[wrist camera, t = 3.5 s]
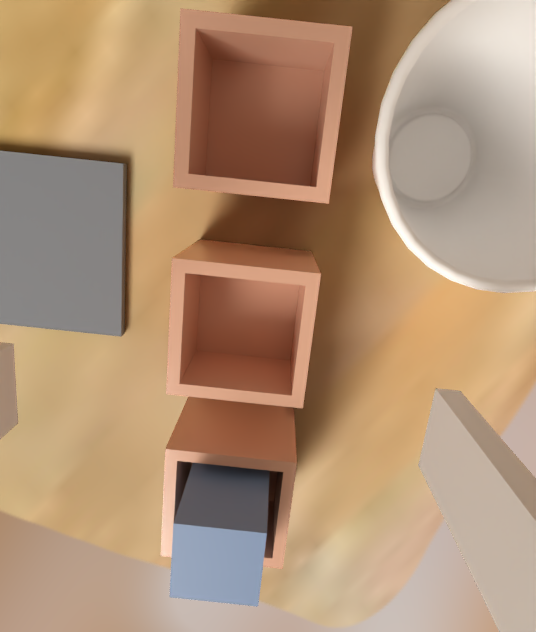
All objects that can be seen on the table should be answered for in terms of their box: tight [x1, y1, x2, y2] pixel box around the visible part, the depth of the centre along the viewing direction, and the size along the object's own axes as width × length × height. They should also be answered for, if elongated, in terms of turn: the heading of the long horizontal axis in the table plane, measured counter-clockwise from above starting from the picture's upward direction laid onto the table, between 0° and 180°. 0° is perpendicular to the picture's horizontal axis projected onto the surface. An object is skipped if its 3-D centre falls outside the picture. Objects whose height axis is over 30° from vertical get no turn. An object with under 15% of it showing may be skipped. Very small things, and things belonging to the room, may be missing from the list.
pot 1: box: [173, 9, 353, 204], centre depth 21 cm, size 6×6×7 cm
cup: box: [372, 0, 536, 293], centre depth 20 cm, size 10×10×11 cm
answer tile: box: [0, 151, 127, 336], centre depth 27 cm, size 10×10×1 cm
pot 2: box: [166, 239, 321, 408], centre depth 24 cm, size 6×6×7 cm
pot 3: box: [161, 397, 297, 569], centre depth 27 cm, size 6×6×7 cm
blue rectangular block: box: [170, 463, 270, 606], centre depth 24 cm, size 4×4×8 cm
